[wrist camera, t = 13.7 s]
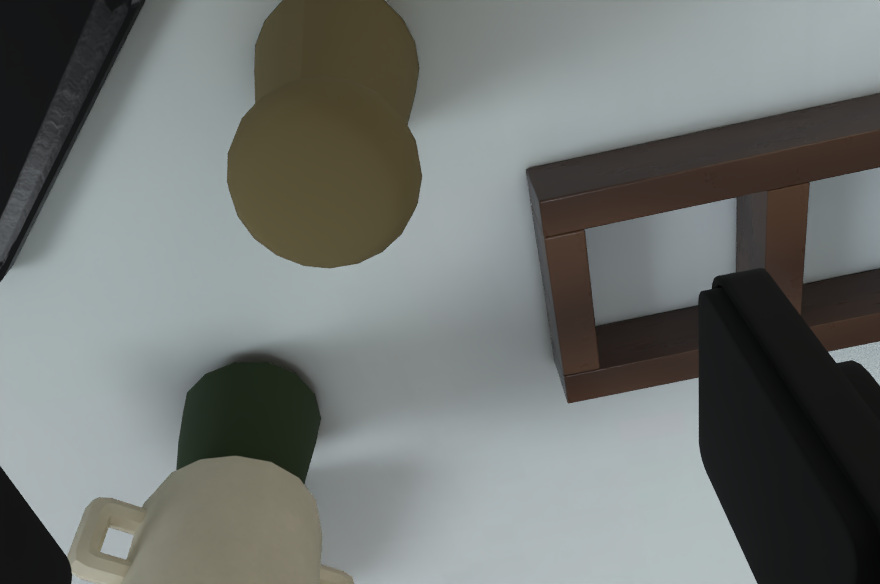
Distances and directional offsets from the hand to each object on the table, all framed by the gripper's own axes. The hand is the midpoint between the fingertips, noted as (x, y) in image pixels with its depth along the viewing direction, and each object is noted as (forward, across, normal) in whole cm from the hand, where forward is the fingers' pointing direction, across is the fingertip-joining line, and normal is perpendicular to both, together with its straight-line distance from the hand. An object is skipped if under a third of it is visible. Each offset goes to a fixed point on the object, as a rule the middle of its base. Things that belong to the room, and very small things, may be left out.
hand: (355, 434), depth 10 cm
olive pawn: (+22, +2, +2) cm, 22 cm away
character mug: (+21, +10, +17) cm, 29 cm away
